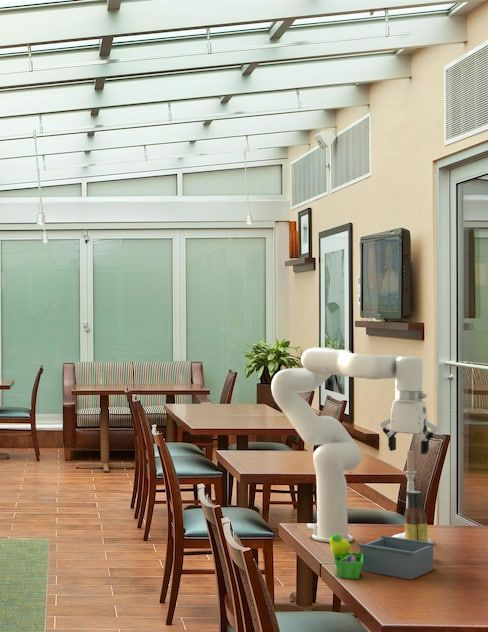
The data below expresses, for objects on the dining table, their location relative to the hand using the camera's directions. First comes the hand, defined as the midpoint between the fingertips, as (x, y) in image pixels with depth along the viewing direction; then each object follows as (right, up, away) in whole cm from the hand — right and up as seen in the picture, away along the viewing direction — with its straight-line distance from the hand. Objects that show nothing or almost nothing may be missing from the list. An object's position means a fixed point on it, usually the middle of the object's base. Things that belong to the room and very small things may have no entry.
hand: (408, 452), depth 295 cm
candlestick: (+8, -32, +16) cm, 37 cm away
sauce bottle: (+1, -32, -4) cm, 32 cm away
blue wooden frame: (-12, -31, -20) cm, 39 cm away
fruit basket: (-28, -31, -25) cm, 49 cm away
